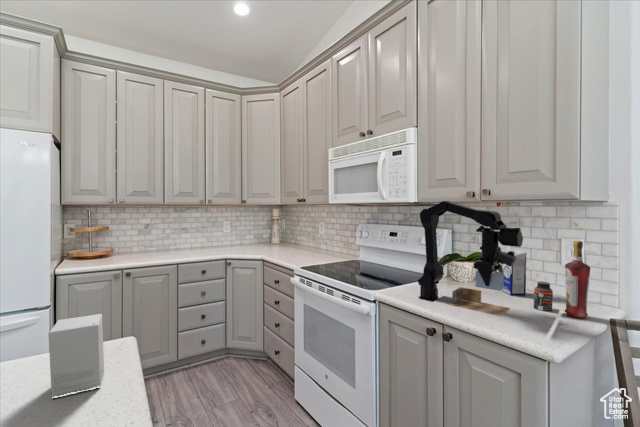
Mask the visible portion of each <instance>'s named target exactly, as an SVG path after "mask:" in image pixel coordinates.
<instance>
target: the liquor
mask: <svg viewBox="0 0 640 427" xmlns="http://www.w3.org/2000/svg"><path fill="white" fill-rule="evenodd" d="M583 246H584V242H583V241H579V240H574V241H573V256H572V261H571V262H567V263H566V264H564V268H565V269H564V275H565V276H564V278H565V281H564V282H565V309H564V313H566V315H568V317H571V318H575V319H584V318H586V317H588V316H589V313H587V312H588V311H587V309H588V297H589V296H588V295H589V294H588V293H589V286H590V278H591V277H590V276H591V275H590V274H591V266H589V265H588V264H586V263H584V261H583V260H584V259H583Z"/></svg>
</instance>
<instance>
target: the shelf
mask: <svg viewBox="0 0 640 427" xmlns="http://www.w3.org/2000/svg"><path fill="white" fill-rule="evenodd" d="M451 300H452V303H449V306H453V307H458V308H462V309H466V310H472V311H476V312H481V313H485V314H489V315H495V316H500V317H503V316H504V315H505V314H506V313H507V312H508V311H509V310H510V309H511V308H510V307H506V306H501V305H497V304H496V305H495V304H491V303H486V302H482V290H480V289H476V288H469V287H463V286H459V287H458V288H456V289H454V290H452V299H451Z"/></svg>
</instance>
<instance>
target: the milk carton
mask: <svg viewBox="0 0 640 427" xmlns="http://www.w3.org/2000/svg"><path fill="white" fill-rule="evenodd" d="M509 251H511V252H514V255H515V257H516V260H515V262H514V264H513V265H512V266H511V267H510V266H507V265H506V264H502V272H503V273H504V288H503V289H502V292H503V293H504V294H507V295H509V296H511V297H512V296H513V297H514V296H517V297H518V296H520V297H521V296H523V297H525V296H526V292H527V290H526V289H527V286H526V284H527V254H528V253H527V251H523V250H518V249H517V250H508V251H507V252H506V253H508V252H509Z"/></svg>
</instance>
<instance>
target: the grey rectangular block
mask: <svg viewBox="0 0 640 427" xmlns="http://www.w3.org/2000/svg"><path fill="white" fill-rule="evenodd" d="M475 287H476V288H482V289H487V290H494V291H499V292H500V291H503V288H504V273H503V271H496V272H495V271H494V272H492V274H491V279H490V284H489V286H486V285H485V283H484V281H483V279H482V277H481V275H480V273H479V271H478V269H476V270H475Z"/></svg>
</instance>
